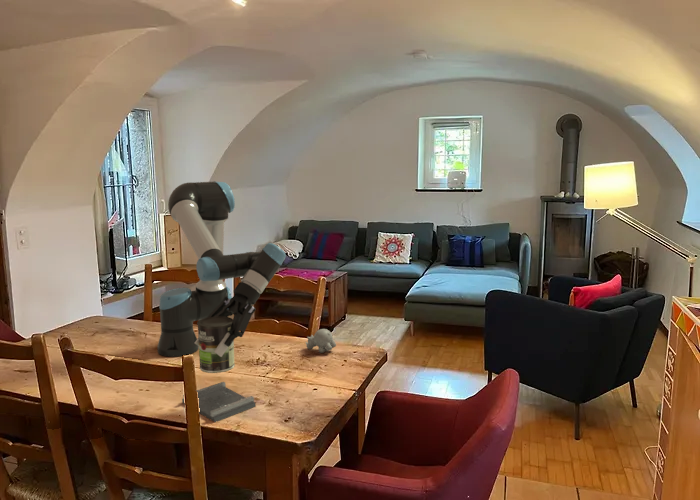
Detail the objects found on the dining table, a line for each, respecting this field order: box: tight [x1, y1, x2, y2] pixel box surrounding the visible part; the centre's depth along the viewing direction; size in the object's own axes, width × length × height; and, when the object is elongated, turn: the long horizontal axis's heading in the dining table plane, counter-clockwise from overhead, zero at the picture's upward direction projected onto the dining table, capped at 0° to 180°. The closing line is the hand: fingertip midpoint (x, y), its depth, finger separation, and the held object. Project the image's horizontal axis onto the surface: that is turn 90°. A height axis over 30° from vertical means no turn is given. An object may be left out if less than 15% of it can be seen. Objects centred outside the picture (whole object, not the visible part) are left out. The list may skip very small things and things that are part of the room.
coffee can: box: [196, 316, 236, 374], centre depth 164 cm, size 10×10×14 cm
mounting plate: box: [181, 381, 257, 423], centre depth 167 cm, size 18×14×3 cm
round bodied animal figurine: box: [305, 328, 337, 354], centre depth 212 cm, size 7×12×8 cm, turn 62°
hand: (207, 349), depth 162 cm, fingers closed on coffee can, 10 cm apart
